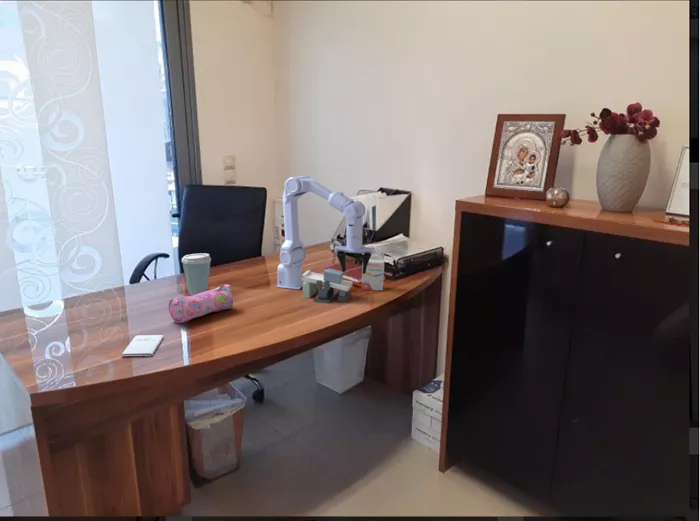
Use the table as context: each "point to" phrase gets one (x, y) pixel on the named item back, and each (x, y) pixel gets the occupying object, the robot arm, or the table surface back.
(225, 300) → the pencil case
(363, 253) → the robot arm
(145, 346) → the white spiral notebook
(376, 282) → the ink cartridge box
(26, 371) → the table surface
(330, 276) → the block
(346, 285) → the plank
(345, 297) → the tip stop
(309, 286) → the level rest
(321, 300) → the stand
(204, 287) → the disposable coffee cup
